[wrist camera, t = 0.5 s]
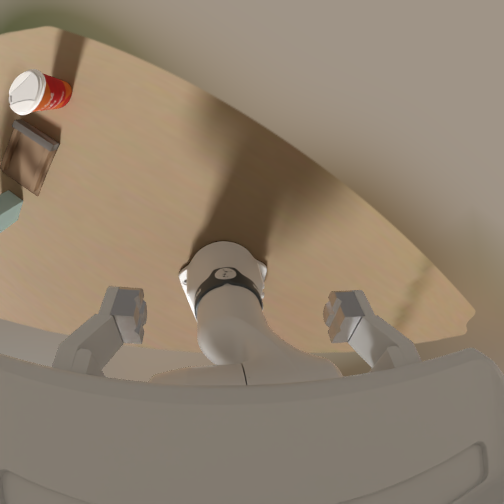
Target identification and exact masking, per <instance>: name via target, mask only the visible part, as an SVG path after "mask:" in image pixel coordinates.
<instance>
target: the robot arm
mask: <svg viewBox="0 0 504 504" xmlns="http://www.w3.org/2000/svg"><path fill="white" fill-rule="evenodd" d="M266 272H267V268H266V265H265V264H263V263H262V262H260V261H258V260H256V259H255V258H254V257H253V256H252V255H251V253H250V252H249V251H248V250H247V249H246V248H244V247H243V246H241V245H239V244H236V243H233V242H227V241H221V242H215V243H211V244H209V245H207V246H205V247H203V248H202V249H200V250H199V251H198V252H197V253H196V254H195V255H194V257H193V259H192V260H191V262H190V264H189V265H188V266H186V267H185V268H184V269H182V270H181V271H180V273H179V279H180V282H181V284H182V287H183V289H184V292H185V294H186V297H187V299H188V302H189V304H190V307H191V309H192V311H193V314H194V316H195V319H196V321H197V339H198V344H199V346H200V348H201V350H202V352H203V353H204V354H205V355H206V357H207V358H208V359H209V360H211V361H212V362H213V363H214V364H216V365H213V366H193V367H185V368H181V369H176V370H171V371H167V372H163V373H158V374H155V375H153V376H152V378H151V379H150V380H149V381H148V382H141V381H131V380H122V379H115V378H107V377H105V375H104V373H103V372H102V369H103V367H104V366H105V365H106V364H107V363H108V361H109V360H110V359H111V358H112V357H113V356H114V355H115V353H116V352H117V351H118V350H119V349H120V347H121V346H122V345H123V343H134V344H142V340H143V335H144V329H143V325H144V324H146V319H147V306H146V302H145V301H144V300H143V298H144V292H143V289H141V288H128V287H114V286H109V287H108V288H107V291H106V293H105V296H104V299H103V302H102V305H101V307H100V310H99V313H98V314H95V315H93V316H92V317H91V318H90V319H89V320H87V321H86V322H85V323H84V324H83V325H81V326H80V327H79V328H78V329H77V330H75V331H74V332H73V333H72V334H71V335H70V336H68V337H67V338H66V339H65V340H64V341H63V342H62V343H60V345H59V347H58V350H57V353H56V356H55V359H54V362H53V365H52V367H48V366H44V365H40V364H36V363H31V362H27V361H24V360H21V359H17V358H13V357H10V356H7V355H4V354H0V504H504V375H503V374H502V372H501V370H500V369H499V367H498V366H497V365H496V363H495V362H494V361H493V360H491V359H490V358H488V357H487V356H486V355H484V354H483V353H482V352H480V351H478V350H476V349H475V348H467V349H464V350H461V351H458V352H455V353H451V354H448V355H444V356H441V357H437V358H433V359H430V360H426V361H421V358H420V356H419V354H418V352H417V350H416V348H415V346H414V344H413V342H412V341H411V340H409V339H408V338H407V337H405V336H404V335H403V334H401V333H400V332H399V331H398V330H396V329H395V328H394V327H392V326H391V325H390V324H388V323H387V322H386V321H384V320H383V319H382V318H380V317H379V316H378V315H377V316H375V314H374V312H373V310H372V308H371V306H370V304H369V302H368V300H367V298H366V296H365V294H364V292H363V291H362V290H352V291H332V292H331V293H330V294H329V297H328V298H329V302H328V303H326V304H325V307H324V311H323V317H324V322H325V324H326V325H327V326H328V327H329V330H328V334H329V337H330V340H331V343H341V342H348V344H349V345H350V346H351V347H352V348H353V349H354V350H355V351H356V352H357V353H358V354H359V355H360V356H361V357H362V358H363V359H364V360H365V361H366V362H367V363H368V364H369V365H370V366H371V367H372V369H371V370H370V371H369V373H365V374H359V375H352V376H347V377H343V376H342V374H341V372H340V371H339V369H338V368H337V367H336V366H335V365H334V364H333V363H332V362H331V361H329V360H328V359H326V358H323V357H319V356H315V355H311V354H309V353H306V352H303V351H301V350H299V349H297V348H295V347H293V346H292V345H290V344H289V343H287V342H286V341H284V340H283V339H281V338H280V337H279V336H278V335H276V334H275V333H274V332H273V331H272V329H271V328H270V327H269V325H268V323H267V321H266V319H265V316H264V314H263V302H262V298H264V292H262V290H263V288H264V280H265V276H266ZM261 273H262V274H261ZM185 280H187V281H185Z"/></svg>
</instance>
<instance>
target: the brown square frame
mask: <svg viewBox="0 0 504 504" xmlns="http://www.w3.org/2000/svg"><path fill="white" fill-rule="evenodd" d="M12 127H14V130H13V133H12V135H11V138H10V140H9V143H8V146H7V149H6V151H5V154H4V157H3V160H2V163H1V167H0V169H2V171H3V172H4V173H5V174H7V175H8V176H9V177H11V178H12V179H14V180H15V181H16V182H18V183H19V184H20V185H22V186H23V187H25V188H26V189H28V190H29V191H30V192H32V193H33V194H35V195H36V196H38V195H39V193H40V190H41V187H42V185H43V182H44V179H45V177H46V174H47V172H48V170H49V167H50V165H51V162H52V160H53V158H54V156H55V153H56V151H57V149H58V147H59V145H60V143H59V142H57V141H55V140H54V139H52V138H51V137H49V136H48V135H46V134H44V133H43V132H41V131H40V130H38V129H37V128H35V127H33V126H32V125H30V124H29V123H27V122H26V121H24V120H22V119H20V120H14V122H13V125H12Z"/></svg>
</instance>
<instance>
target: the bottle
mask: <svg viewBox="0 0 504 504" xmlns="http://www.w3.org/2000/svg"><path fill="white" fill-rule="evenodd" d="M22 203H23V200H21V199H20V198H19V197H17V196H16V195H14V194H13V193H12V192H10V191H9V190H8V191H6V192H4V193H2V194H0V233H1V232H2V231H4V230H5V229H6V228H8V227H9V226H10V225H12V224H13V223H14V222H16V221H17V220H18V217H19V213H20V210H21V206H22Z"/></svg>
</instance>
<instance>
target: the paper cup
mask: <svg viewBox="0 0 504 504" xmlns="http://www.w3.org/2000/svg"><path fill="white" fill-rule="evenodd" d="M71 94H72V89H71V86H70V85H69V84H68V83H67V82H65V81H62V80H60V79H57V78H54V77H51V76H48V75H45V74H42V73H41V72H40V71H39V70H36V69H30V70H27V71H25V72H23V73H22V74H20V75H19V76H18V77H17V78H16V79H15V80H14V82H13V83H12V85H11V87H10V90H9V103H10V107H11V109H12V110H13V111H14V112H15V113H17V114H19V115H26V114H29V113H30V112H35V111H42V110H50V109H57V108H61V107H63V106H65V105H66V104H67V103H68V102H69V100H70V98H71Z"/></svg>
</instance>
